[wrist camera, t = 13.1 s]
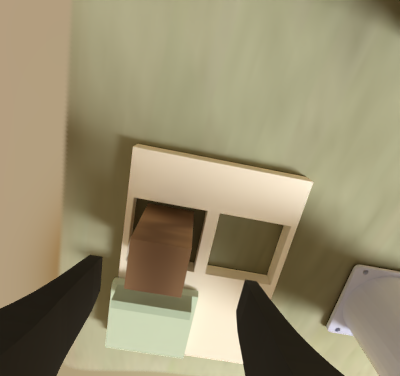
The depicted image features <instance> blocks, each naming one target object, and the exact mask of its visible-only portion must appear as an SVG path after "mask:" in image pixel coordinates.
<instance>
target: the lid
mask: <svg viewBox="0 0 400 376" xmlns="http://www.w3.org/2000/svg"><path fill="white" fill-rule="evenodd" d="M124 284H125V279H123V278H117V277H115V278H114V280H113V282H112V286H111V295H110V305H109V314H108V324H107V334H106V343H105V347H106V348H113V349H120V350H126V351H133V352H140V353H147V354H153V355H160V356H167V357H173V358H180V359H183V358H184V354H185V350H186V346H187V342H188V337H189V333H190V329H191V325H192V321H193V317H194V313H195V309H196V305H197V301H198V291H196V290H190V289H184V288H183V292H182V296H181V298H178V297H172V296H166V295H160V294H154V293H148V292H141V291H135V290H129V289H124Z"/></svg>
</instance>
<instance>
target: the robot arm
mask: <svg viewBox="0 0 400 376" xmlns="http://www.w3.org/2000/svg"><path fill="white" fill-rule="evenodd" d="M364 270H366V271H364ZM101 271H102V257H100V256H93V255H89V256H88V257H86V258H85V259H83V260H82V261H80V262H79V263H78V264H76V265H75V266H73V267H72V268H71V269H69V270H68V271H66V272H65V273H63V274H62V275H60V276H59V277H57V278H56V279H54V280H53V281H51V282H49V283H48V284H46V285H44V286H43V287H41V288H40V289H38V290H36V291H34V292H33V293H31V294H29V295H27V296H25V297H23V298H22V299H19V300H17V301H15V302H14V303H11V304H9V305H7V306H5V307H3V308H1V309H0V376H56V375H57V373H58V371H59V369H60V367H61V365H62V363H63V361H64V359H65V357H66V355H67V353H68V351H69V350H70V348H71V346H72V344H73V343H74V341H75V339H76V337H77V336H78V334H79V332H80V330H81V329H82V327H83V325H84V323H85V322H86V320H87V318H88V316H89V314H90V313H91V311H92V309H93V306H94V304H95V302H96V299H97V297H98V294H99V292H100V285H101ZM363 271H364V272H363ZM236 321H237V333H238V338H239V344H240V349H241V354H242V360H243V365H244V370H245V376H344V375H343V374H342V373H341V372H339V371H338V370H337V369H336V368H334V367H333V366H332V365H331V364H330V363H329V362H328V361H326V360H325V359H324V358H323V357H322V356H321V355H320V354H319V353H317V352H316V351H315V350H314V349H313V348H312V347H311V346H310V345H309V344H308V343H307V342H306V341H305V340H304V339H303V338H302V337H301V336H300V335H299V334H298V333H297V331H296V330H295V329H294V328H293V327H292V326H291V325H290V323H289V322H288V321H287V320H286V319H285V318H284V316H283V315H282V314H281V313H280V311H279V310H278V309H277V308H276V306H275V305H274V304H273V302H272V301H271V300H270V298H269V297H268V296H267V294H266V293H265V292H264V290H263V289H262V287H261V286H260V285H259V283H258V282H257V281H252V280H246V279H245V281H244V285H243V288H242V292H241V295H240V299H239V302H238V306H237V309H236ZM326 328H327V330H328V331H329V332H333V333H339V334H345V335H351V336H354V337H355V339H356V340H357V342H358V343H359V345H360V347H361V348H362V350H363V351H364V353H365V354H366V356H367V358H368V359H369V361H370V362H371V364H372V365H373V367H374V368H375V370H376V372H377V373H378V375H379V376H400V272H399V271H394V270H388V269H383V268H377V267H371V266H366V265H356V266H354V268H353V270H352V272H351V274H350V276H349V278H348V280H347V283H346V285H345V287H344V289H343V291H342V293H341V295H340V298H339V300H338V302H337V304H336V306H335V308H334V310H333V312H332V315H331V317H330V319H329V321H328V323H327V325H326Z"/></svg>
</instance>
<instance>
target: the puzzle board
mask: <svg viewBox="0 0 400 376" xmlns="http://www.w3.org/2000/svg"><path fill="white" fill-rule="evenodd" d="M312 185H313V181H311V180H310V179H309V178H307V177H304V176H299V175H294V174H289V173H284V172H279V171H274V170H269V169H264V168H259V167H254V166H249V165H244V164H238V163H233V162H228V161H223V160H218V159H213V158H208V157H203V156H198V155H193V154H188V153H183V152H178V151H172V150H167V149H162V148H157V147H152V146H147V145H142V144H136V145H135V146H133V151H132V160H131V169H130V178H129V186H128V195H127V204H126V213H125V221H124V230H123V239H122V248H121V257H120V265H119V274H118V278H123V279H125V276H126V268H127V260H128V252H129V244H130V238H131V236H132V233H133V225H134V217H135V209H136V201H137V198H140V199H145V200H151V201H156V202H162V203H167V204H172V205H178V206H183V207H189V208H194V209H200V210H205V211H206V213H205V217H204V222H203V226H202V231H201V235H200V240H199V244H198V248H197V253H196V257H195V262H189V264H188V268H187V273H186V278H185V282H184V287H183V288H184V289H190V290H196V291H198V301H197V305H196V309H195V313H194V317H193V321H192V325H191V329H190V333H189V337H188V342H187V346H186V350H185V354H184V355H187V356H194V357H201V358H207V359H214V360H221V361H227V362H234V363H241V364H243V360H242V354H241V349H240V344H239V338H238V333H237V321H236V309H237V306H238V302H239V299H240V295H241V292H242V288H243V285H244V281H245V279H246V280H252V281H257V282H258V283H259V285H260V286H261V287H262V289H263V290H264V292H265V293H266V294H267V296H268V297H269V298H270V300H271V298H272V296H273V293H274V290H275V287H276V284H277V282H278V279H279V276H280V273H281V271H282V268H283V265H284V262H285V260H286V257H287V254H288V251H289V248H290V246H291V243H292V240H293V237H294V235H295V232H296V229H297V226H298V224H299V221H300V218H301V215H302V212H303V210H304V207H305V204H306V201H307V199H308V196H309V193H310V190H311V188H312ZM220 213H221V214H227V215H232V216H237V217H243V218H248V219H254V220H259V221H265V222H270V223H275V224H281V225H284V226H283V229H282V232H281V235H280V238H279V241H278V244H277V247H276V250H275V253H274V255H273V258H272V261H271V264H270V267H269V270H268V273H267V275H264V274H258V273H252V272H246V271H240V270H235V269H229V268H223V267H217V266H211V265H207V264H208V260H209V256H210V252H211V248H212V244H213V240H214V236H215V231H216V227H217V223H218V219H219V215H220Z"/></svg>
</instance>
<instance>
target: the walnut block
mask: <svg viewBox="0 0 400 376" xmlns="http://www.w3.org/2000/svg"><path fill="white" fill-rule="evenodd" d="M193 221H194V211H190V210H184V209H179V208H174V207H168V206H163V205H157V204H152V203H148V205H147V207H146V208H145V210H144V212H143V214H142V216H141V218H140V220H139V222H138V224H137V226H136V228H135V230H134V232H133V234H132V236H131V238H130V244H129V252H128V260H127V268H126V276H125V284H124V289H129V290H135V291H141V292H148V293H154V294H160V295H166V296H172V297H178V298H181V296H182V292H183V287H184V282H185V278H186V273H187V268H188V264H189V259H190V255H191V250H192V236H193Z"/></svg>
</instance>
